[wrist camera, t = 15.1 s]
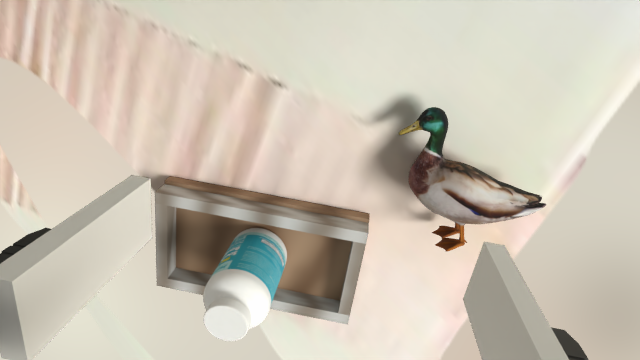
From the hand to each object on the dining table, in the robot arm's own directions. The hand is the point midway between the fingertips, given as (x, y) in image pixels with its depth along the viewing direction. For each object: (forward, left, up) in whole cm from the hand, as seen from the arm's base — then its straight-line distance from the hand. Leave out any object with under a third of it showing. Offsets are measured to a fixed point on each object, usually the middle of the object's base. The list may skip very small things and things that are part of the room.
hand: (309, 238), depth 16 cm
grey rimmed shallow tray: (-8, -22, -32) cm, 39 cm away
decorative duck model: (+14, -6, -32) cm, 36 cm away
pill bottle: (-8, -22, -30) cm, 38 cm away
